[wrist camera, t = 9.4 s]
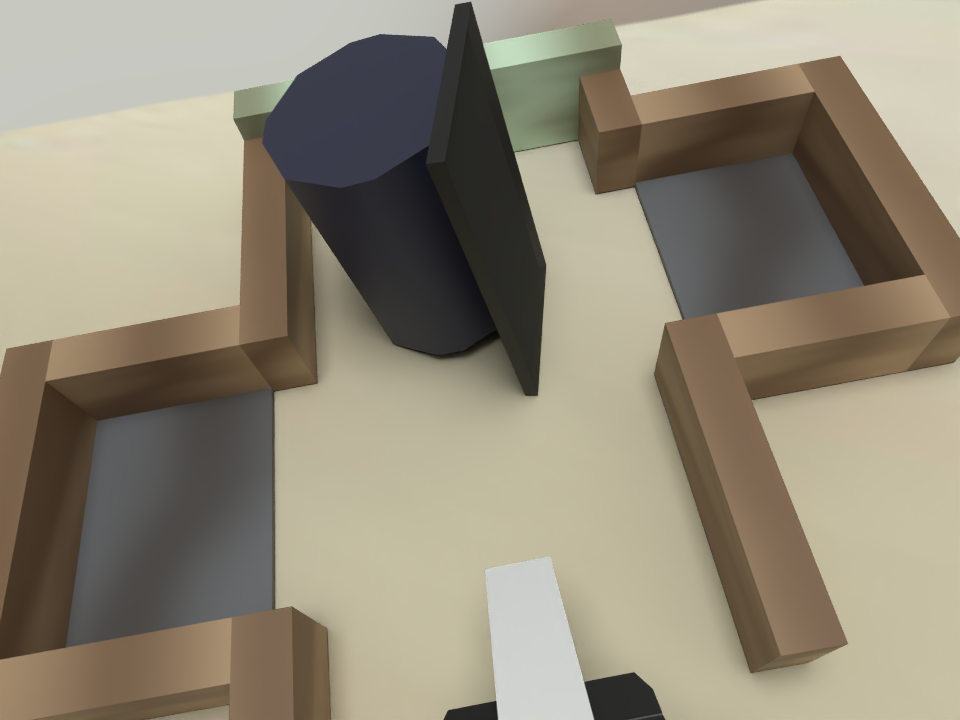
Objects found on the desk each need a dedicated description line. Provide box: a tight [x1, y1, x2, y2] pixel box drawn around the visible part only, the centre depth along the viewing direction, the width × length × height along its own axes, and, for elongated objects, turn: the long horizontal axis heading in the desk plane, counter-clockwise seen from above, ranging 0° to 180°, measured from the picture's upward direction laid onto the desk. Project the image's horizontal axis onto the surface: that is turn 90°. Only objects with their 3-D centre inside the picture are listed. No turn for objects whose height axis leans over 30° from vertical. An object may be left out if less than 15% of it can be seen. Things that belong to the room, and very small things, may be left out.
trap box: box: [0, 19, 960, 720], centre depth 22 cm, size 29×22×4 cm
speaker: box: [262, 2, 546, 395], centre depth 21 cm, size 8×6×10 cm
